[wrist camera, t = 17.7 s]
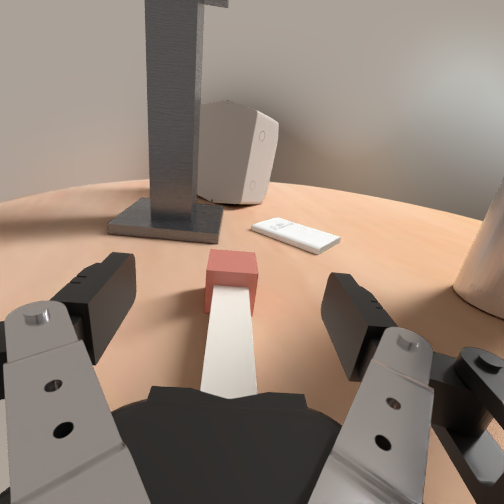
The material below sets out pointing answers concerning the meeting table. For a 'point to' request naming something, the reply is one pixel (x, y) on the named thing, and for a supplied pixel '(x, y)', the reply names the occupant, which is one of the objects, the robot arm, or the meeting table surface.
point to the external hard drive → (296, 235)
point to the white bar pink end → (230, 324)
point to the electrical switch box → (235, 153)
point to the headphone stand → (173, 128)
